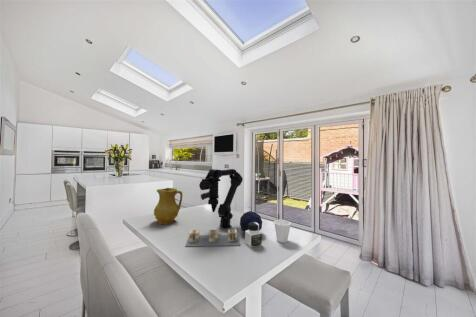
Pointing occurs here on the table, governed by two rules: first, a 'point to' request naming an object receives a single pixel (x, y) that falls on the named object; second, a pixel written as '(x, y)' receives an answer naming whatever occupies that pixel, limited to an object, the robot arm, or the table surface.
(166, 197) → the pitcher
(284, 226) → the cup
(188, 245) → the mat
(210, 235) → the plain block
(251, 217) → the decorative orb
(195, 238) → the marked block
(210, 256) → the table surface
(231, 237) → the marked block
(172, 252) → the table surface
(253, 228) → the medicine bottle
